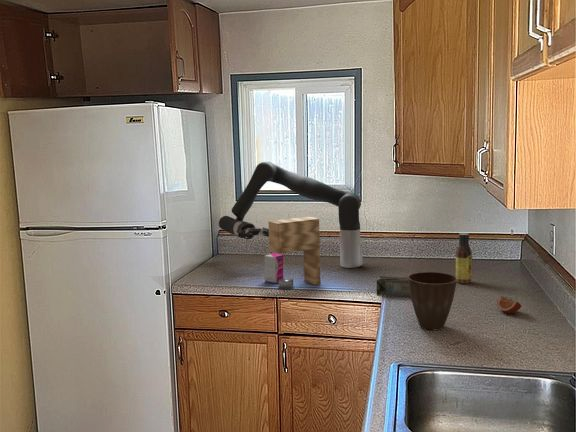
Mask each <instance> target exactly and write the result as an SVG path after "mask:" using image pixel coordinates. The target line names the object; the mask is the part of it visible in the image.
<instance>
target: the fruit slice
mask: <svg viewBox="0 0 576 432" xmlns="http://www.w3.org/2000/svg"><path fill="white" fill-rule="evenodd" d="M496 305H497V308H498V309H499V310H500V311H502V312H503V313H505V314H514V313H517V312H518V311H519V310H520V309H521V308H522V304H521V303H520V302H519V301H516V300H514V299H512V298H507V297H504V296H502V295H499V297H498V298H497V300H496Z"/></svg>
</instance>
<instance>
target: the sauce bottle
mask: <svg viewBox="0 0 576 432" xmlns="http://www.w3.org/2000/svg"><path fill="white" fill-rule="evenodd" d="M469 239H470V233H466V232H465V233H464V232H461V233H458V246H457V248H456V250H455V277H456V278H457V282H456V284H457V283H458V284H462V285H463V284H464V285H465V284H466V285H467V284H471V282H472V279H473V278H472V276H473V275H472V273H473V272H472V271H473V270H472V268H473V267H472V266H473V265H472V264H473V261H472V260H473V253H472V250H471V247H470V242H469V241H470V240H469Z"/></svg>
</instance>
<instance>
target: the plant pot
mask: <svg viewBox="0 0 576 432" xmlns="http://www.w3.org/2000/svg"><path fill="white" fill-rule="evenodd" d="M407 277H408V281H409V288H410V294H411V297H410V298H411V302H412V307H413V310H414V314H415V317H416V320H417V323H418V325H419V326H421V327H423V328H422V329H424V328H425V329H424V330H428V329H433V330H432V331H435V330H434V329H439V330H441V328H442V329H443V328H444V327H445V324H446V322H447V321H448V316H449V314H450V312H451V311H450V310H451V308H452V304H453V301H454V296H455V292H456V288H457V287H456V286H457V278H456V275H455V276H454V275H452V274H449V273H446V272H445V273H444V272H437V271H436V272H435V271H422V272H421V271H420V272H415V273H414V272H413V273H412V274H409V275H408V276H407ZM421 327H420V328H421Z"/></svg>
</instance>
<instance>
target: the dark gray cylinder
mask: <svg viewBox="0 0 576 432" xmlns="http://www.w3.org/2000/svg"><path fill="white" fill-rule="evenodd" d="M278 288H279V289H282V290H288V289H289V290H290V289H293V288H294V279H293V278H290V277H283V278H282V279H279V282H278Z"/></svg>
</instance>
